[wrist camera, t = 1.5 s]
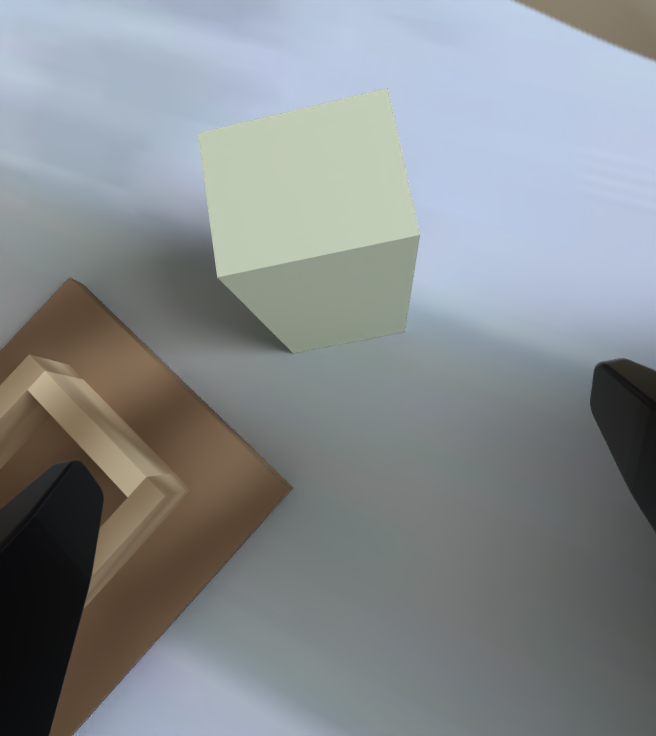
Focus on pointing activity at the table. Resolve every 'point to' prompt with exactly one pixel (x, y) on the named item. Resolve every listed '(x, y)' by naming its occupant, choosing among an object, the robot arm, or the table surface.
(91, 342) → the dock
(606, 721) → the table surface
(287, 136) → the sage key block
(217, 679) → the table surface
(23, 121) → the table surface
